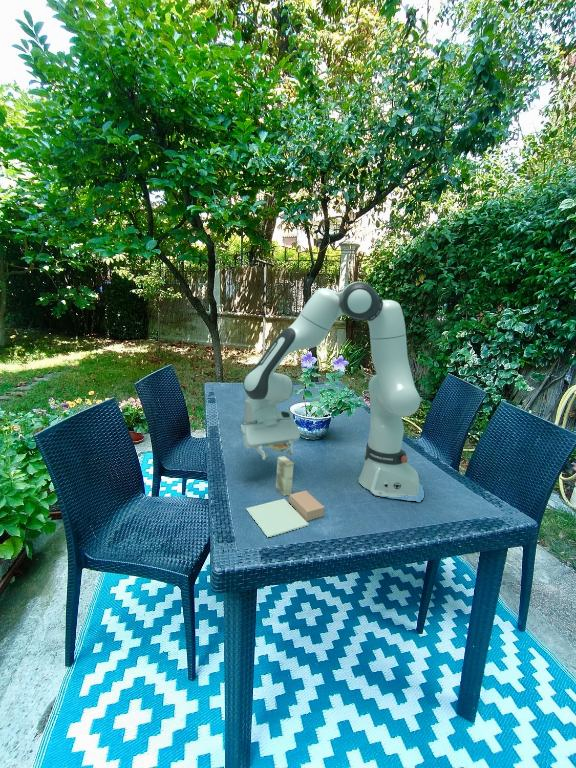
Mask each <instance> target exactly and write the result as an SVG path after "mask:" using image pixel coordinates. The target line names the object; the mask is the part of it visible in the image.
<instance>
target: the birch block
mask: <svg viewBox="0 0 576 768" xmlns="http://www.w3.org/2000/svg"><path fill="white" fill-rule="evenodd" d="M276 463H277V464H276V475H275V476H276V477H275V488H276V490H278V491H279V493H281V495H282V496H284V497H287V496H286V495H288V496H289V495H290V494H292V489H293V488H292V487H293V475H294V465H295V464H294V462H293V461H292V460H290V459H289V458H288V457H286V456H285V455H282V456H277V462H276Z"/></svg>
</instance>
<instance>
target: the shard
mask: <svg viewBox="0 0 576 768" xmlns="http://www.w3.org/2000/svg"><path fill="white" fill-rule="evenodd" d="M267 447H268V449H271V450H274V451H275V450H276V451H277V452H282V451H284V450H287V449H288V447H289V446H287V443H284V444H278V445H271V446H267Z"/></svg>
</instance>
